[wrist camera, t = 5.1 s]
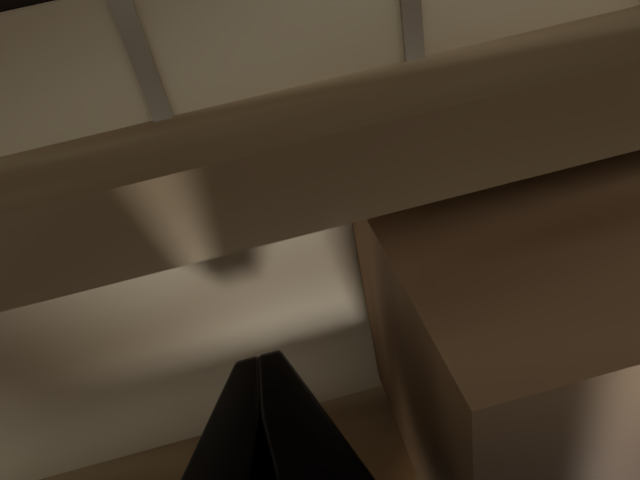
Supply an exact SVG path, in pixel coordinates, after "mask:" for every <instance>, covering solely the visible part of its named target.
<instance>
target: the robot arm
mask: <svg viewBox="0 0 640 480" xmlns="http://www.w3.org/2000/svg"><path fill="white" fill-rule="evenodd" d="M181 480H375V478H374V477H373V476H372V474H371V473H370V472H369V470H368V469H367V467H366V466H365V465H364V463H363V462H362V461H361V459H360V458H359V456H358V455H357V454H356V452H355V451H354V450H353V448H352V447H351V445H350V444H349V443H348V441H347V440H346V439H345V437H344V436H343V434H342V433H341V432H340V430H339V429H338V428H337V426H336V425H335V423H334V422H333V421H332V419H331V418H330V417H329V415H328V414H327V412H326V411H325V410H324V408H323V407H322V406H321V404H320V403H319V401H318V400H317V399H316V397H315V396H314V395H313V393H312V392H311V390H310V389H309V388H308V386H307V385H306V384H305V382H304V381H303V379H302V378H301V377H300V375H299V374H298V373H297V371H296V370H295V368H294V367H293V366H292V364H291V363H290V362H289V360H288V359H287V357H286V356H285V355H284V353H283V352H282V351H281V350H274V351H270V352H267V353H263V354H260V355H259V356H252V357H249V358H245V359H241V360H238V361H237V362H236V363H235V364H234V366H233V368H232V370H231V372H230V375H229V377H228V379H227V381H226V383H225V385H224V387H223V390H222V392H221V394H220V396H219V398H218V400H217V402H216V405H215V407H214V409H213V411H212V413H211V415H210V417H209V420H208V422H207V424H206V426H205V428H204V430H203V433H202V435H201V437H200V439H199V441H198V443H197V445H196V448H195V450H194V452H193V454H192V456H191V458H190V460H189V463H188V465H187V467H186V469H185V471H184V473H183V475H182V478H181Z"/></svg>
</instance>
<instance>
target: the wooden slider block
mask: <svg viewBox="0 0 640 480" xmlns="http://www.w3.org/2000/svg"><path fill="white" fill-rule="evenodd" d="M352 224H353V230H354V236H355V241H356V247H357V253H358V259H359V264H360V270H361V276H362V282H363V288H364V293H365V299H366V305H367V311H368V317H369V322H370V328H371V334H372V340H373V345H374V351H375V357H376V363H377V369H378V374H379V377H380V380H381V383H382V385H383V388H384V391H385V393H386V396H387V399H388V401H389V404H390V407H391V409H392V412H393V415H394V417H395V420H396V423H397V425H398V428H399V431H400V433H401V436H402V439H403V441H404V444H405V447H406V449H407V452H408V455H409V457H410V460H411V463H412V465H413V468H414V471H415V473H416V476H417V479H418V480H640V150H637V151H633V152H629V153H625V154H621V155H618V156H614V157H610V158H606V159H602V160H598V161H594V162H590V163H586V164H582V165H578V166H574V167H570V168H566V169H562V170H559V171H555V172H551V173H547V174H543V175H539V176H535V177H531V178H527V179H523V180H519V181H515V182H511V183H507V184H503V185H500V186H496V187H492V188H488V189H484V190H480V191H476V192H472V193H468V194H464V195H460V196H456V197H452V198H448V199H444V200H441V201H437V202H433V203H429V204H425V205H421V206H417V207H413V208H409V209H405V210H401V211H397V212H393V213H389V214H385V215H382V216H378V217H374V218H370V219H366V220H362V221H358V222H354V223H352Z"/></svg>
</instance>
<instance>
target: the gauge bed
mask: <svg viewBox="0 0 640 480" xmlns="http://www.w3.org/2000/svg"><path fill="white" fill-rule="evenodd" d="M637 150H640V0H54V1H50V2H45V3H41V4H36V5H32V6H27V7H23V8H18V9H14V10H9V11H5V12H0V480H181V478H182V475H183V473H184V471H185V469H186V467H187V465H188V463H189V460H190V458H191V456H192V454H193V452H194V450H195V448H196V445H197V443H198V441H199V439H200V437H201V435H202V433H203V430H204V428H205V426H206V424H207V422H208V420H209V417H210V415H211V413H212V411H213V409H214V407H215V405H216V402H217V400H218V398H219V396H220V394H221V392H222V390H223V387H224V385H225V383H226V381H227V379H228V377H229V375H230V372H231V370H232V368H233V366H234V364H235V363H236V362H237V361H238V360H241V359H245V358H249V357H252V356H259V355H260V354H263V353H267V352H270V351H274V350H281V351H282V352H283V353H284V355H285V356H286V357H287V359H288V360H289V362H290V363H291V364H292V366H293V367H294V368H295V370H296V371H297V373H298V374H299V375H300V377H301V378H302V379H303V381H304V382H305V384H306V385H307V386H308V388H309V389H310V390H311V392H312V393H313V395H314V396H315V397H316V399H317V400H318V401H319V403H320V404H321V406H322V407H323V408H324V410H325V411H326V412H327V414H328V415H329V417H330V418H331V419H332V421H333V422H334V423H335V425H336V426H337V428H338V429H339V430H340V432H341V433H342V434H343V436H344V437H345V439H346V440H347V441H348V443H349V444H350V445H351V447H352V448H353V450H354V451H355V452H356V454H357V455H358V456H359V458H360V459H361V461H362V462H363V463H364V465H365V466H366V467H367V469H368V470H369V472H370V473H371V474H372V476H373V477H374V478H375V480H418V479H417V476H416V473H415V471H414V468H413V465H412V463H411V460H410V457H409V455H408V452H407V449H406V447H405V444H404V441H403V439H402V436H401V433H400V431H399V428H398V425H397V423H396V420H395V417H394V415H393V412H392V409H391V407H390V404H389V401H388V399H387V396H386V393H385V391H384V388H383V385H382V383H381V380H380V377H379V374H378V369H377V363H376V357H375V351H374V345H373V340H372V334H371V328H370V322H369V317H368V311H367V305H366V299H365V293H364V288H363V282H362V276H361V270H360V264H359V259H358V253H357V247H356V241H355V236H354V230H353V224H352V223H354V222H358V221H362V220H366V219H370V218H374V217H378V216H382V215H385V214H389V213H393V212H397V211H401V210H405V209H409V208H413V207H417V206H421V205H425V204H429V203H433V202H437V201H441V200H444V199H448V198H452V197H456V196H460V195H464V194H468V193H472V192H476V191H480V190H484V189H488V188H492V187H496V186H500V185H503V184H507V183H511V182H515V181H519V180H523V179H527V178H531V177H535V176H539V175H543V174H547V173H551V172H555V171H559V170H562V169H566V168H570V167H574V166H578V165H582V164H586V163H590V162H594V161H598V160H602V159H606V158H610V157H614V156H618V155H621V154H625V153H629V152H633V151H637Z"/></svg>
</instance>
